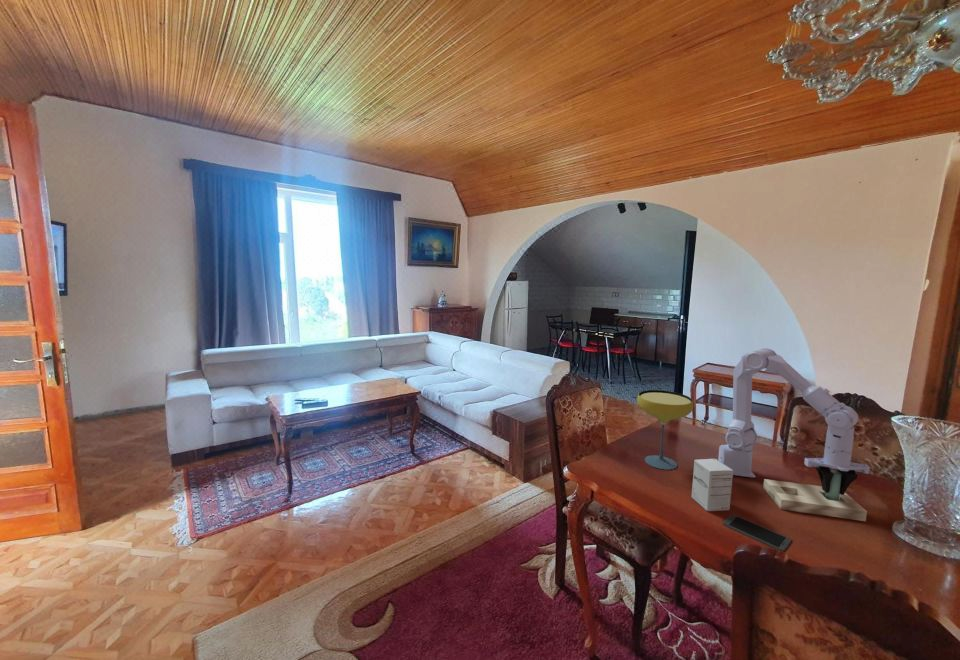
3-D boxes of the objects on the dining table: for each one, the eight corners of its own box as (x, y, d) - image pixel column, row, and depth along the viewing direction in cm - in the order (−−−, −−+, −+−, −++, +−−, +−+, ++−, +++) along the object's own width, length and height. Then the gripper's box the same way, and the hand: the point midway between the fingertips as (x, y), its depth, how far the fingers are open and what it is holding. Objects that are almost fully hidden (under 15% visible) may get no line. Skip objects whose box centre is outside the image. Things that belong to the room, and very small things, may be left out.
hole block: (780, 508, 111) (781, 499, 111) (763, 487, 122) (764, 479, 122) (865, 521, 105) (867, 511, 105) (839, 497, 117) (840, 488, 116)
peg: (828, 503, 111) (831, 474, 110) (822, 497, 114) (825, 469, 113) (840, 504, 110) (844, 475, 109) (834, 499, 113) (837, 470, 112)
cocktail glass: (635, 448, 151) (638, 387, 148) (686, 457, 144) (691, 393, 140) (632, 468, 135) (636, 401, 132) (690, 479, 127) (695, 408, 124)
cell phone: (731, 515, 109) (731, 513, 109) (792, 541, 98) (792, 539, 98) (720, 525, 104) (721, 523, 104) (783, 554, 93) (783, 551, 93)
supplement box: (690, 497, 117) (693, 458, 115) (713, 496, 118) (716, 457, 116) (706, 512, 110) (709, 470, 108) (730, 510, 110) (734, 469, 109)
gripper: (815, 450, 108) (810, 495, 110) (879, 457, 104) (873, 503, 106) (802, 441, 115) (798, 482, 117) (862, 446, 111) (856, 490, 113)
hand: (832, 492), depth 112 cm, fingers closed on peg, 3 cm apart
